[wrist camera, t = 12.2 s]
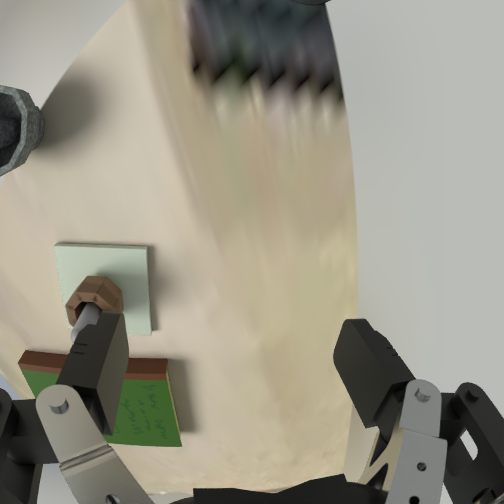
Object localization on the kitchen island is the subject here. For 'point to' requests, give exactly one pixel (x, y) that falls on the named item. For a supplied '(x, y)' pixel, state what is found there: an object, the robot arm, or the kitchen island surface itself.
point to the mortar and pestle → (18, 127)
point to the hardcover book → (122, 398)
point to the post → (115, 269)
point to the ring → (94, 297)
